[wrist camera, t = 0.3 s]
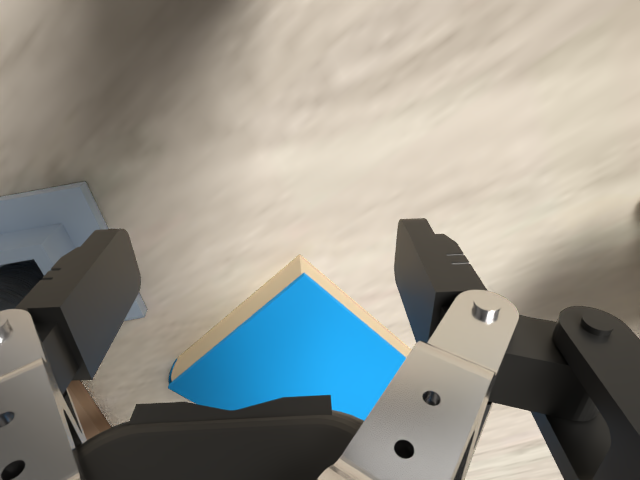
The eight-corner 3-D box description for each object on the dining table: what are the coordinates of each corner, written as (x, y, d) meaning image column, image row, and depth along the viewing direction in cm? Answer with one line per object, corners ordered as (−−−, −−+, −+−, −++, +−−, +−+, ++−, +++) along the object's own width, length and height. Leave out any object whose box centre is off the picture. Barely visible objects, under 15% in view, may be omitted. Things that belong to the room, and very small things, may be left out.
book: (302, 273, 31) (479, 419, 41) (300, 245, 34) (462, 384, 44) (161, 392, 36) (350, 496, 46) (173, 356, 39) (345, 459, 49)
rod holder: (-79, 211, 29) (-127, 238, 26) (85, 181, 29) (59, 204, 26) (11, 334, 35) (-19, 369, 32) (147, 309, 35) (133, 342, 32)
